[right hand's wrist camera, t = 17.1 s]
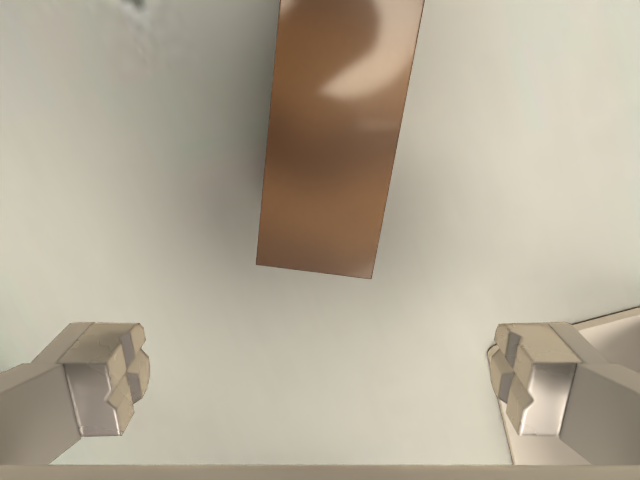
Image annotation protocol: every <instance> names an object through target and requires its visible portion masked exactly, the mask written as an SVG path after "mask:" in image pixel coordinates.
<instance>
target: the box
mask: <svg viewBox="0 0 640 480" xmlns="http://www.w3.org/2000/svg"><path fill="white" fill-rule="evenodd" d="M424 1H425V0H280V7H279V18H278V29H277V40H276V51H275V61H274V72H273V83H272V94H271V105H270V116H269V127H268V138H267V148H266V159H265V170H264V181H263V192H262V203H261V214H260V225H259V235H258V246H257V257H256V265H263V266H270V267H278V268H286V269H294V270H302V271H310V272H318V273H326V274H334V275H342V276H350V277H358V278H366V279H371V278H372V274H373V268H374V263H375V258H376V253H377V247H378V242H379V237H380V232H381V226H382V221H383V216H384V211H385V205H386V200H387V195H388V190H389V184H390V179H391V174H392V169H393V163H394V158H395V153H396V148H397V142H398V137H399V132H400V127H401V122H402V116H403V111H404V106H405V101H406V95H407V90H408V85H409V80H410V74H411V69H412V64H413V59H414V53H415V48H416V43H417V38H418V32H419V27H420V22H421V17H422V11H423V6H424Z"/></svg>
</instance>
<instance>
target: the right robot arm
mask: <svg viewBox="0 0 640 480" xmlns="http://www.w3.org/2000/svg"><path fill="white" fill-rule="evenodd" d="M145 340H146V338H145V333H144V328H143V327H142V325H141V324H140V323H104V322H97V323H95V322H75V323H70V324H69V325H68V326H67V327H66V328H65V329H64V330H63V331H62V332H61V333H60V334H59V335H58V336H57V337H56V338H55V339H54V340H53V341H52V342H51V343H50V344H49V345H48V346H47V347H46V348H45V349H44V350H43V351H42V352H41V353H40V354H39V355H38V356H37V357H36V358H35V359H34V360H33V361H32V362H31V363H30V364H20V365H18V366H16V367H14V368H12V369H9V370H7V371H5V372H3V373H0V480H640V373H637V372H635V371H633V370H631V369H628V368H626V367H624V366H622V365H620V364H610V363H609V362H608V361H607V360H606V359H605V358H604V357H603V356H602V355H601V354H600V353H599V352H598V351H597V350H596V349H595V348H594V347H593V346H592V345H591V344H590V343H589V342H588V341H587V340H586V339H585V338H584V337H583V336H582V335H581V334H580V333H579V332H578V331H577V330H576V329H575V328H574V327H573V326H572V325H571V324H569V323H567V322H549V323H511V324H499V325H498V327H497V329H496V332H495V338H494V340H495V342H496V344H497V345H498V347H499V349H498V350H497V351H496V352H495V353H494V354H493V356H492V357H491V364H490V376H491V383H492V386H493V389H494V392H495V394H496V396H497V397H498V399H500V400H501V401H503V402H504V403H506V404H507V408H506V414H507V416H508V418H509V420H510V421H511V423H512V425H513V427H514V429H515V431H516V432H517V434H518V436H549V437H559V439H560V440H561V441H563V442H564V443H565V444H567V445H568V446H569V447H570V448H572V449H573V450H574V451H575V452H577V453H578V454H579V455H581V456H582V457H583V458H584V459H586V460H587V461H588V462H589V463H591V464H592V465H48V464H49V463H51V462H52V461H53V460H55V459H56V458H57V457H58V456H60V455H61V454H62V453H63V452H65V451H66V450H67V449H69V448H70V447H71V446H72V445H74V444H75V443H76V442H77V441H79V440H80V439H81V437H90V436H122V434H123V432H124V431H125V429H126V427H127V425H128V423H129V422H130V420H131V418H132V416H133V414H134V408H133V404H134V403H136V402H137V401H139V400H140V399H142V397H143V396H144V394H145V392H146V390H147V386H148V382H149V377H150V363H149V357H148V356H147V354H146V353H145V352H144V351H143V350H142V349H141V347H142V345H143V344H144V342H145Z"/></svg>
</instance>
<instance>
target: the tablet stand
mask: <svg viewBox="0 0 640 480" xmlns="http://www.w3.org/2000/svg"><path fill="white" fill-rule="evenodd" d="M572 326H573V327H574V328H575V329H576V330H577V331H578V332H579V333H580V334H581V335H582V336H583V337H584V338H585V339H586V340H587V341H588V342H589V343H590V344H591V345H592V346H593V347H594V348H595V349H596V350H597V351H598V352H599V353H600V354H601V355H602V356H603V357H604V358H605V359H606V360H607V361H608V362H609V363H610V364H620V365H622V366H624V367H626V368H628V369H631V370H633V371H635V372H637V373H640V307H639V308H635V309H631V310H628V311H624V312H620V313H616V314H612V315H609V316H605V317H601V318H597V319H594V320H590V321H586V322H582V323H578V324H575V325H572ZM498 349H499V347H498V345H496V346H493V347H492V348H491V349H490V350H489V352H488V358H489V363H490V364H491V357H492V356H493V354H494V353H495V352H496V351H497V350H498ZM498 401H499V405H500V409H501V414H502V418H503V422H504V426H505V430H506V435H507V439H508V443H509V447H510V452H511V456H512V460H513V464H514V465H592V464H591V463H589V462H588V461H587V460H586V459H584V458H583V457H582V456H581V455H579V454H578V453H577V452H575V451H574V450H573V449H572V448H570V447H569V446H568V445H567V444H565V443H564V442H563V441H561V440H560V439H559V437H549V436H518V434H517V432H516V431H515V429H514V427H513V425H512V423H511V421H510V420H509V418H508V416H507V414H506V408H507V404H506V403H504V402H503V401H501V400H500V399H498Z"/></svg>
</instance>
